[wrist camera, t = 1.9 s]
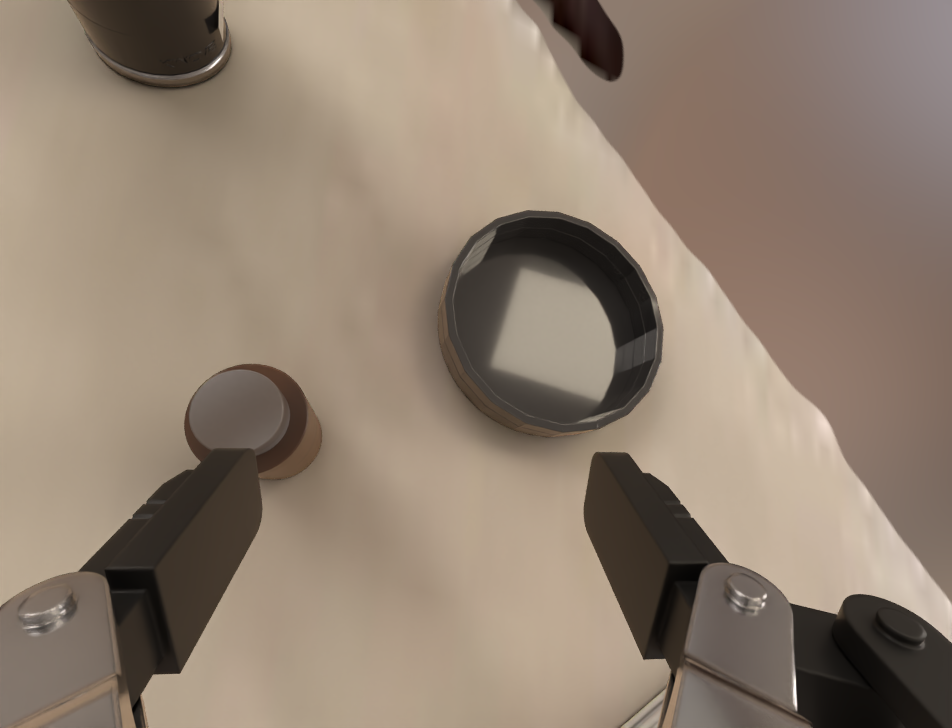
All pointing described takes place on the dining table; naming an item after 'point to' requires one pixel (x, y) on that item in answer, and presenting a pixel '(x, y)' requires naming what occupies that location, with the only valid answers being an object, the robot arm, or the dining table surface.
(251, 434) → the pepper mill
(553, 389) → the pan
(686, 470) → the dining table surface
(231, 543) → the robot arm
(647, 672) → the dining table surface
